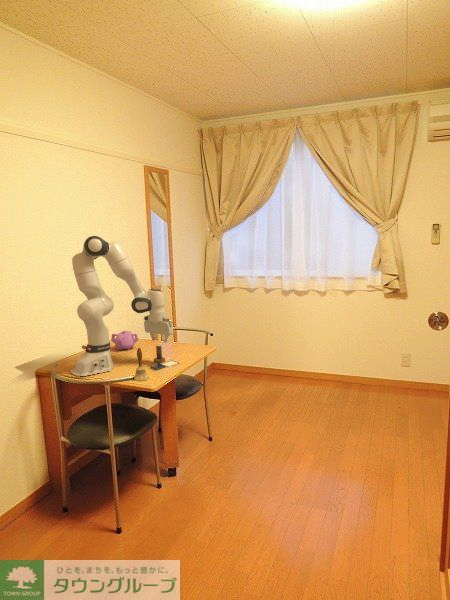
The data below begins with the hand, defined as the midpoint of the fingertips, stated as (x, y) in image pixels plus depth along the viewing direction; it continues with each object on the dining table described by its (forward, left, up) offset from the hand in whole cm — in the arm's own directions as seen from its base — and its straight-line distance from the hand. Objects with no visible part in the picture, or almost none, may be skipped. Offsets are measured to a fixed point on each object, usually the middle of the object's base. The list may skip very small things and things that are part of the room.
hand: (159, 341), depth 231 cm
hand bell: (-23, -14, -13) cm, 29 cm away
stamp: (-1, 0, -12) cm, 12 cm away
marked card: (+1, -7, -12) cm, 14 cm away
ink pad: (-8, -7, -12) cm, 16 cm away
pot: (+3, +40, -13) cm, 42 cm away
